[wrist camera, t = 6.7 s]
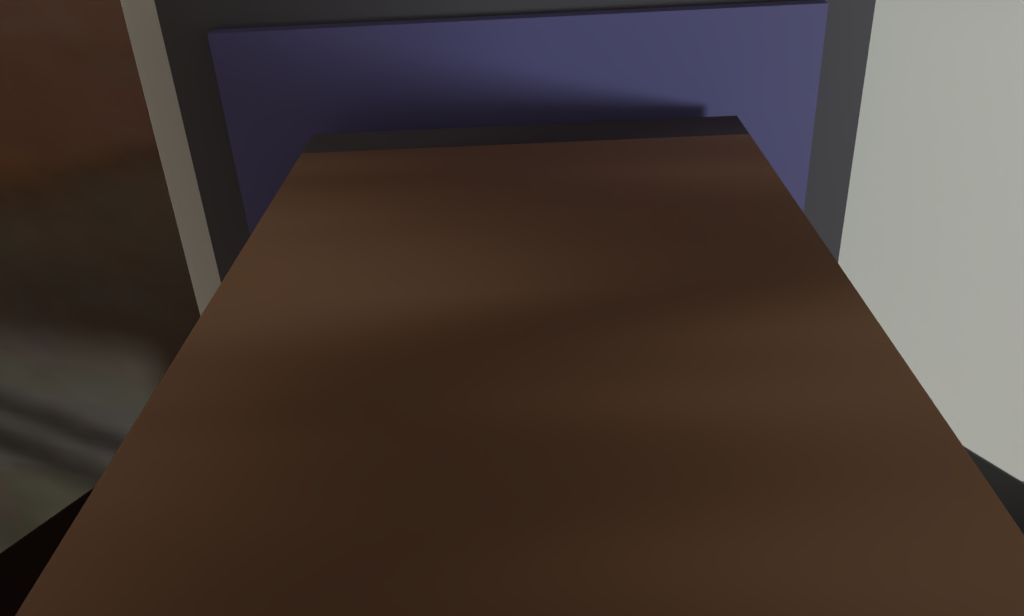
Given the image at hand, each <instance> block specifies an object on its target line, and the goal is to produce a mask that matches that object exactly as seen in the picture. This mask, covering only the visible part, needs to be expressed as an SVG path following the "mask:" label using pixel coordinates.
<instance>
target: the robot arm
mask: <svg viewBox="0 0 1024 616" xmlns="http://www.w3.org/2000/svg"><path fill="white" fill-rule="evenodd" d="M963 447H964V446H963ZM964 448H965V449H966V451H967V452H968V454H969V455H970V457H971V458H972V460H973V461H974V463H975V464H976V465H977V467H978V468H979V470H980V471H981V473H982V474H983V476H984V477H985V479H986V480H987V482H988V483H989V484H990V486H991V487H992V489H993V490H994V492H995V493H996V495H997V496H998V498H999V499H1000V501H1001V502H1002V503H1003V505H1004V506H1005V508H1006V509H1007V511H1008V512H1009V514H1010V515H1011V517H1012V518H1013V520H1014V521H1015V522H1016V524H1017V525H1018V527H1019V528H1020V530H1021V531H1022V533H1023V534H1024V483H1023V482H1022V481H1020V480H1018V479H1017V478H1015V477H1013V476H1012V475H1010V474H1009V473H1007V472H1005V471H1004V470H1002V469H1000V468H999V467H997V466H996V465H994V464H992V463H991V462H989V461H987V460H986V459H984V458H982V457H981V456H979V455H978V454H976V453H974V452H973V451H971V450H969V449H968V448H966V447H964ZM94 488H95V487H94ZM94 488H93V489H94ZM93 489H91V490H90V491H88V492H87V493H86V494H84V495H83V496H81V497H80V498H78V499H77V500H76V501H74V502H73V503H71V504H70V505H69V506H67V507H66V508H64V509H63V510H61V511H60V512H59V513H57V514H56V515H54V516H53V517H51V518H50V519H49V520H47V521H46V522H44V523H43V524H42V525H40V526H39V527H37V528H36V529H34V530H33V531H32V532H30V533H29V534H27V535H26V536H24V537H23V538H22V539H20V540H19V541H17V542H16V543H15V544H13V545H12V546H10V547H9V548H7V549H6V550H5V551H3V552H2V553H0V616H15V615H16V614H17V612H18V610H19V609H20V607H21V606H22V604H23V602H24V601H25V599H26V597H27V596H28V594H29V593H30V591H31V589H32V588H33V586H34V585H35V583H36V581H37V580H38V578H39V576H40V575H41V573H42V572H43V570H44V568H45V567H46V565H47V564H48V562H49V560H50V559H51V557H52V555H53V554H54V552H55V551H56V549H57V547H58V546H59V544H60V543H61V541H62V539H63V538H64V536H65V534H66V533H67V531H68V530H69V528H70V526H71V525H72V523H73V522H74V520H75V518H76V517H77V515H78V513H79V512H80V510H81V509H82V507H83V505H84V504H85V502H86V501H87V499H88V497H89V496H90V494H91V492H92V491H93Z"/></svg>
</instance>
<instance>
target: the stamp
mask: <svg viewBox="0 0 1024 616" xmlns="http://www.w3.org/2000/svg"><path fill="white" fill-rule="evenodd" d="M15 616H1024V534H1023V533H1022V531H1021V530H1020V528H1019V527H1018V525H1017V524H1016V522H1015V521H1014V520H1013V518H1012V517H1011V515H1010V514H1009V512H1008V511H1007V509H1006V508H1005V506H1004V505H1003V503H1002V502H1001V501H1000V499H999V498H998V496H997V495H996V493H995V492H994V490H993V489H992V487H991V486H990V484H989V483H988V482H987V480H986V479H985V477H984V476H983V474H982V473H981V471H980V470H979V468H978V467H977V465H976V464H975V463H974V461H973V460H972V458H971V457H970V455H969V454H968V452H967V451H966V449H965V448H964V447H963V445H962V444H961V442H960V441H959V439H958V438H957V436H956V435H955V433H954V432H953V430H952V429H951V428H950V426H949V425H948V423H947V422H946V420H945V419H944V417H943V416H942V414H941V413H940V411H939V410H938V409H937V407H936V406H935V404H934V403H933V401H932V400H931V398H930V397H929V395H928V394H927V392H926V391H925V390H924V388H923V387H922V385H921V384H920V382H919V381H918V379H917V378H916V376H915V375H914V373H913V372H912V371H911V369H910V368H909V366H908V365H907V363H906V362H905V360H904V359H903V357H902V356H901V354H900V353H899V352H898V350H897V349H896V347H895V346H894V344H893V343H892V341H891V340H890V338H889V337H888V336H887V334H886V333H885V331H884V330H883V328H882V327H881V325H880V324H879V322H878V321H877V319H876V318H875V317H874V315H873V314H872V312H871V311H870V309H869V308H868V306H867V305H866V303H865V302H864V300H863V299H862V298H861V296H860V295H859V293H858V292H857V290H856V289H855V287H854V286H853V284H852V283H851V281H850V280H849V279H848V277H847V276H846V274H845V273H844V271H843V270H842V268H841V267H840V265H839V264H838V262H837V261H836V260H835V258H834V257H833V255H832V254H831V252H830V251H829V249H828V248H827V246H826V245H825V243H824V242H823V241H822V239H821V238H820V236H819V235H818V233H817V232H816V230H815V229H814V227H813V226H812V225H811V223H810V222H809V220H808V219H807V217H806V216H805V214H804V213H803V211H802V210H801V208H800V207H799V206H798V204H797V203H796V201H795V200H794V198H793V197H792V195H791V194H790V192H789V191H788V189H787V188H786V187H785V185H784V184H783V182H782V181H781V179H780V178H779V176H778V175H777V173H776V172H775V170H774V169H773V168H772V166H771V165H770V163H769V162H768V160H767V159H766V157H765V156H764V154H763V153H762V151H761V150H760V149H759V147H758V146H757V144H756V143H755V141H754V140H753V138H752V137H751V135H750V134H749V132H748V131H747V130H746V128H745V127H744V125H743V124H742V122H741V121H740V119H739V118H738V116H715V117H692V118H670V119H647V120H624V121H601V122H578V123H556V124H533V125H510V126H487V127H465V128H442V129H419V130H396V131H373V132H351V133H328V134H313V136H312V137H311V139H310V140H309V142H308V144H307V145H306V147H305V149H304V150H303V152H302V153H301V155H300V157H299V158H298V160H297V161H296V163H295V165H294V166H293V168H292V169H291V171H290V173H289V174H288V176H287V178H286V179H285V181H284V182H283V184H282V186H281V187H280V189H279V190H278V192H277V194H276V195H275V197H274V199H273V200H272V202H271V203H270V205H269V207H268V208H267V210H266V211H265V213H264V215H263V216H262V218H261V220H260V221H259V223H258V224H257V226H256V228H255V229H254V231H253V232H252V234H251V236H250V237H249V239H248V241H247V242H246V244H245V245H244V247H243V249H242V250H241V252H240V253H239V255H238V257H237V258H236V260H235V262H234V263H233V265H232V266H231V268H230V270H229V271H228V273H227V274H226V276H225V278H224V279H223V281H222V283H221V284H220V286H219V287H218V289H217V291H216V292H215V294H214V295H213V297H212V299H211V300H210V302H209V304H208V305H207V307H206V308H205V310H204V312H203V313H202V315H201V316H200V318H199V320H198V321H197V323H196V325H195V326H194V328H193V329H192V331H191V333H190V334H189V336H188V337H187V339H186V341H185V342H184V344H183V346H182V347H181V349H180V350H179V352H178V354H177V355H176V357H175V358H174V360H173V362H172V363H171V365H170V367H169V368H168V370H167V371H166V373H165V375H164V376H163V378H162V379H161V381H160V383H159V384H158V386H157V387H156V389H155V391H154V392H153V394H152V396H151V397H150V399H149V400H148V402H147V404H146V405H145V407H144V408H143V410H142V412H141V413H140V415H139V417H138V418H137V420H136V421H135V423H134V425H133V426H132V428H131V429H130V431H129V433H128V434H127V436H126V438H125V439H124V441H123V442H122V444H121V446H120V447H119V449H118V450H117V452H116V454H115V455H114V457H113V459H112V460H111V462H110V463H109V465H108V467H107V468H106V470H105V471H104V473H103V475H102V476H101V478H100V480H99V481H98V483H97V484H96V486H95V488H94V489H93V491H92V492H91V494H90V496H89V497H88V499H87V501H86V502H85V504H84V505H83V507H82V509H81V510H80V512H79V513H78V515H77V517H76V518H75V520H74V522H73V523H72V525H71V526H70V528H69V530H68V531H67V533H66V534H65V536H64V538H63V539H62V541H61V543H60V544H59V546H58V547H57V549H56V551H55V552H54V554H53V555H52V557H51V559H50V560H49V562H48V564H47V565H46V567H45V568H44V570H43V572H42V573H41V575H40V576H39V578H38V580H37V581H36V583H35V585H34V586H33V588H32V589H31V591H30V593H29V594H28V596H27V597H26V599H25V601H24V602H23V604H22V606H21V607H20V609H19V610H18V612H17V614H16V615H15Z"/></svg>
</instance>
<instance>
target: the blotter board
mask: <svg viewBox="0 0 1024 616" xmlns="http://www.w3.org/2000/svg"><path fill="white" fill-rule="evenodd" d="M120 2H121V6H122V10H123V14H124V18H125V22H126V26H127V30H128V34H129V38H130V42H131V46H132V49H133V53H134V57H135V61H136V65H137V69H138V73H139V77H140V81H141V85H142V89H143V93H144V97H145V101H146V104H147V108H148V112H149V116H150V120H151V124H152V128H153V132H154V136H155V140H156V144H157V148H158V152H159V156H160V160H161V163H162V167H163V171H164V175H165V179H166V183H167V187H168V191H169V195H170V199H171V203H172V207H173V211H174V215H175V218H176V222H177V226H178V230H179V234H180V238H181V242H182V246H183V250H184V254H185V258H186V262H187V266H188V270H189V274H190V277H191V281H192V285H193V289H194V293H195V297H196V301H197V305H198V309H199V313H200V316H201V315H202V313H203V312H204V310H205V308H206V307H207V305H208V304H209V302H210V300H211V299H212V297H213V295H214V294H215V292H216V291H217V289H218V287H219V286H220V284H221V283H222V281H223V279H224V278H225V276H226V274H227V273H228V271H229V270H230V268H231V266H232V265H233V263H234V262H235V260H236V258H237V257H238V255H239V253H240V252H241V250H242V249H243V247H244V245H245V244H246V242H247V241H248V239H249V237H250V236H251V234H252V232H253V231H254V229H255V228H256V226H257V224H258V223H259V221H260V220H261V218H262V216H263V215H264V213H265V211H266V210H267V208H268V207H269V205H270V203H271V202H272V200H273V199H274V197H275V195H276V194H277V192H278V190H279V189H280V187H281V186H282V184H283V182H284V181H285V179H286V178H287V176H288V174H289V173H290V171H291V169H292V168H293V166H294V165H295V163H296V161H297V160H298V158H299V157H300V155H301V153H302V152H303V150H304V149H305V147H306V145H307V144H308V142H309V140H310V139H311V137H312V136H313V134H328V133H351V132H373V131H396V130H419V129H442V128H465V127H487V126H510V125H533V124H556V123H578V122H601V121H624V120H647V119H670V118H692V117H715V116H738V118H739V119H740V121H741V122H742V124H743V125H744V127H745V128H746V130H747V131H748V132H749V134H750V135H751V137H752V138H753V140H754V141H755V143H756V144H757V146H758V147H759V149H760V150H761V151H762V153H763V154H764V156H765V157H766V159H767V160H768V162H769V163H770V165H771V166H772V168H773V169H774V170H775V172H776V173H777V175H778V176H779V178H780V179H781V181H782V182H783V184H784V185H785V187H786V188H787V189H788V191H789V192H790V194H791V195H792V197H793V198H794V200H795V201H796V203H797V204H798V206H799V207H800V208H801V210H802V211H803V213H804V214H805V216H806V217H807V219H808V220H809V222H810V223H811V225H812V226H813V227H814V229H815V230H816V232H817V233H818V235H819V236H820V238H821V239H822V241H823V242H824V243H825V245H826V246H827V248H828V249H829V251H830V252H831V254H832V255H833V257H834V258H835V260H836V261H837V262H838V264H839V265H840V267H841V268H842V270H843V271H844V273H845V274H846V276H847V277H848V279H849V280H850V281H851V283H852V284H853V286H854V287H855V289H856V290H857V292H858V293H859V295H860V296H861V298H862V299H863V300H864V302H865V303H866V305H867V306H868V308H869V309H870V311H871V312H872V314H873V315H874V317H875V318H876V319H877V321H878V322H879V324H880V325H881V327H882V328H883V330H884V331H885V333H886V334H887V336H888V337H889V338H890V340H891V341H892V343H893V344H894V346H895V347H896V349H897V350H898V352H899V353H900V354H901V356H902V357H903V359H904V360H905V362H906V363H907V365H908V366H909V368H910V369H911V371H912V372H913V373H914V375H915V376H916V378H917V379H918V381H919V382H920V384H921V385H922V387H923V388H924V390H925V391H926V392H927V394H928V395H929V397H930V398H931V400H932V401H933V403H934V404H935V406H936V407H937V409H938V410H939V411H940V413H941V414H942V416H943V417H944V419H945V420H946V422H947V423H948V425H949V426H950V428H951V429H952V430H953V432H954V433H955V435H956V436H957V438H958V439H959V441H960V442H961V444H962V445H963V446H964V447H966V448H968V449H969V450H971V451H973V452H974V453H976V454H978V455H979V456H981V457H982V458H984V459H986V460H987V461H989V462H991V463H992V464H994V465H996V466H997V467H999V468H1000V469H1002V470H1004V471H1005V472H1007V473H1009V474H1010V475H1012V476H1013V477H1015V478H1017V479H1018V480H1020V481H1024V0H120Z"/></svg>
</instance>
